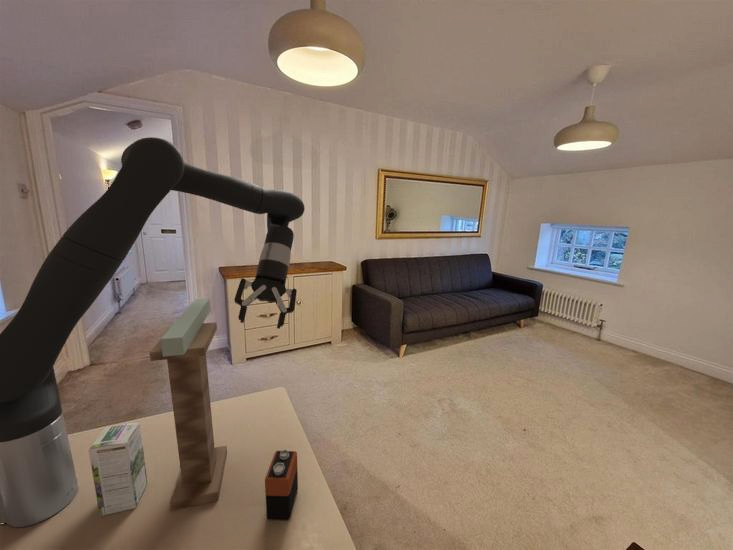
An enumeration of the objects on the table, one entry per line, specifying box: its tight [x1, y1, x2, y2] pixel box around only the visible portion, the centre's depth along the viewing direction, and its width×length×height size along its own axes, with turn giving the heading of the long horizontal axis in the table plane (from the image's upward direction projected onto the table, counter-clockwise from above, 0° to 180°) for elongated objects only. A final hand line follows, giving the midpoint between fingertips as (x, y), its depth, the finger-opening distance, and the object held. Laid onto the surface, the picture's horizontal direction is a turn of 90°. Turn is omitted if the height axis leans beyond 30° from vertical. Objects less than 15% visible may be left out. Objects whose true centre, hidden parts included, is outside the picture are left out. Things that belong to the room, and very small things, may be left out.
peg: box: [160, 297, 212, 357], centre depth 58 cm, size 3×22×3 cm, turn 17°
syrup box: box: [88, 422, 148, 517], centre depth 56 cm, size 6×6×14 cm
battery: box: [264, 449, 299, 521], centre depth 57 cm, size 4×7×10 cm, turn 179°
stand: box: [149, 322, 228, 512], centre depth 59 cm, size 8×12×32 cm, turn 17°
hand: (260, 325), depth 73 cm, fingers open, 8 cm apart
